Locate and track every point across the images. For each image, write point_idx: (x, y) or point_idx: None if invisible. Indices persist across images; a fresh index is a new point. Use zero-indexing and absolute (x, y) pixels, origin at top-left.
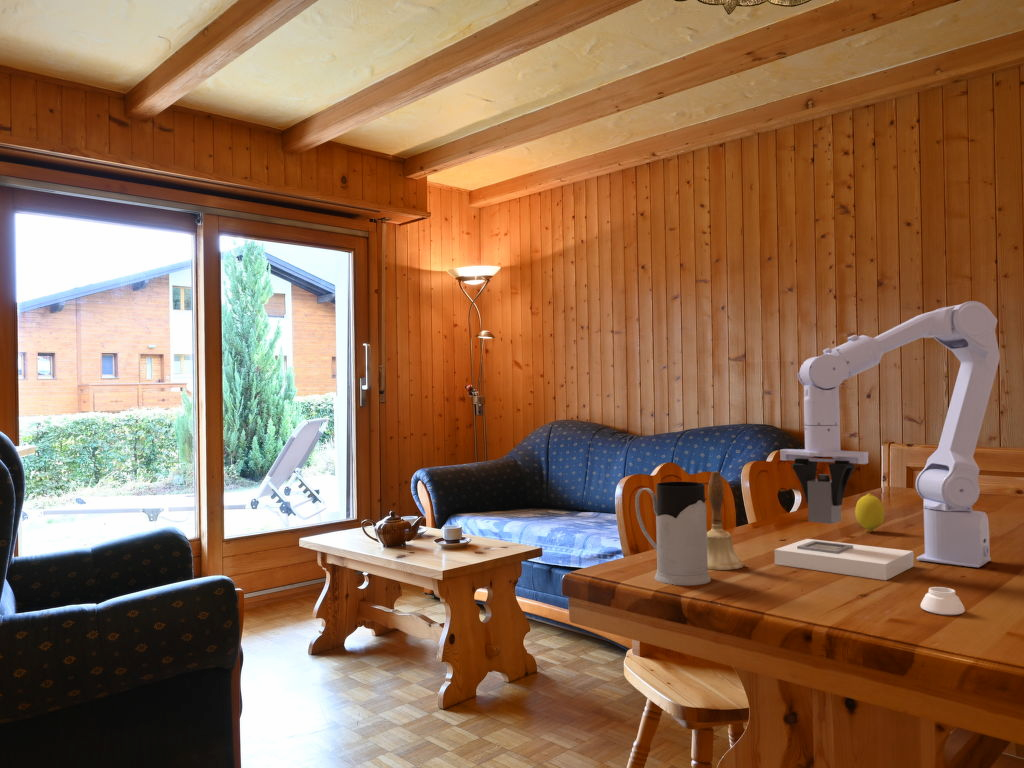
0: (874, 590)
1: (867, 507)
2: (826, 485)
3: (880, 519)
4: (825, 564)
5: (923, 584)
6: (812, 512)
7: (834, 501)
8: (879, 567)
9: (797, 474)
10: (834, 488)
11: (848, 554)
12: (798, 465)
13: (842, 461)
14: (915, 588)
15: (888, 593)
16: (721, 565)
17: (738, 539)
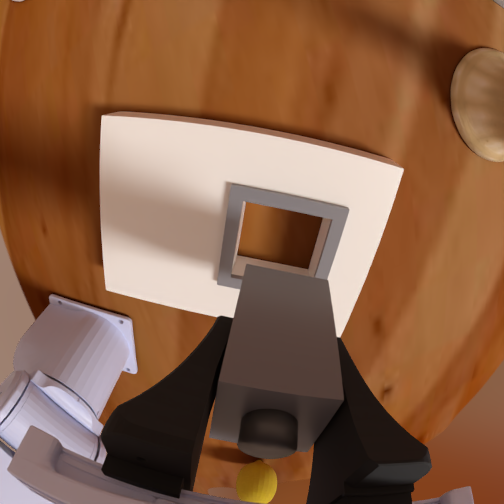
0: (124, 12)
1: (255, 486)
2: (243, 371)
3: (240, 472)
4: (255, 129)
5: (64, 124)
6: (315, 297)
7: (224, 324)
8: (118, 114)
9: (396, 424)
10: (207, 358)
11: (203, 188)
12: (401, 459)
13: (132, 477)
14: (68, 81)
15: (99, 8)
16: (484, 52)
17: (459, 365)
